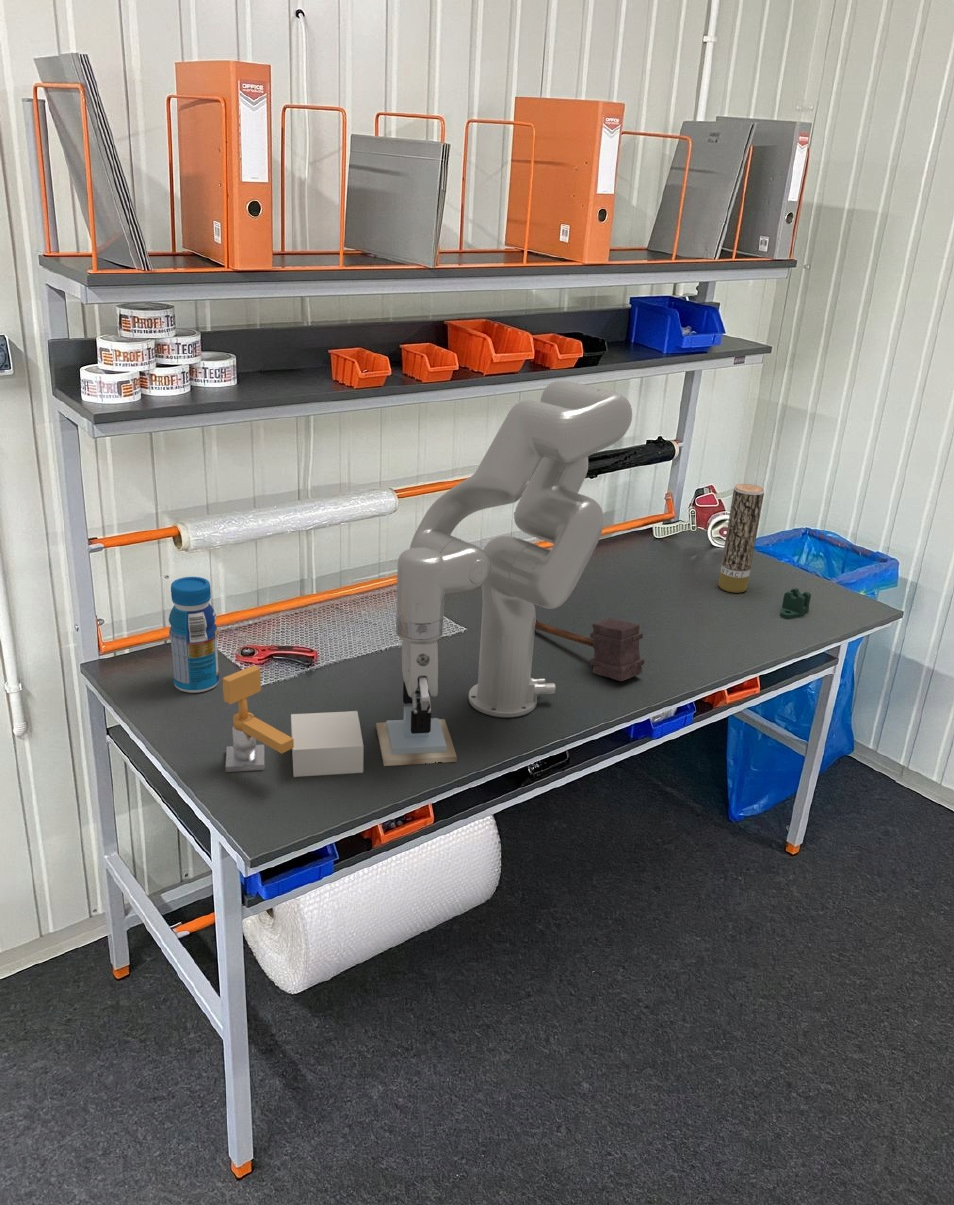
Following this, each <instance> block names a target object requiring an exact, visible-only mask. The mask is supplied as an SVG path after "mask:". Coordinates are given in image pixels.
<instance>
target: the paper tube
mask: <svg viewBox="0 0 954 1205" xmlns="http://www.w3.org/2000/svg"><path fill="white" fill-rule="evenodd" d="M764 496H765V489H764V488H763V487H762V486H759V485H757V484H756V485H755V484H751V483H738V484H735V485H734V487H733V492H732V498H731V506H730V510H729V515H728V516H729V517H728V523H727V529H726V535H725V541H724V548H723V552H722V559H721V565H720V572H719V576H718V577H719V579H718V588H720V589H721V590H723V591H725V592H728V593H732V594H733V593H734V594H740V593H743V592H745V591H746V590H747V589H748V585H749V579H750V574H751V569H752V563H753V557H754V551H755V547H756V540H757V535H758V529H759V525H760V518H761V513H762V509H763V508H762V507H763V502H764Z"/></svg>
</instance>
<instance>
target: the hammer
mask: <svg viewBox="0 0 954 1205" xmlns="http://www.w3.org/2000/svg"><path fill="white" fill-rule="evenodd" d="M640 628H641V626H640V624H638V623H633V622H629V621H624V620H619V619H615V618H606V619H603V620H601V621H599V622H594V623H592V629H593V632H590V633H589V636H590V637H587V636H583V635H580V634H577V633H573V632H570V631H567V630H564V629H560V628H558V627H554V626H551V625H549V624H546V623H543V622H540V621H538V620H537V619H536V622H535V630H538V631H541V632H542V631H543V632H545V633H547V634H550V635H553V636H556V637H559V638H563V639H566V640H569V641H571V642H572V641H573V642H575V643H579V644H582V645H586V646H588V647H592V648H593V650H594V652H593V654H594V657H593V658H590V659H589V664H590V666H593V668H592V673H593V674H594V673H595V674H594V675H598V676H602V677H604V678H605V677H606V678H610V679H613V680H616V681H618V682H619V681H620V682H624V681H625V680H628V679H631V678H633V677H636V676H639V675H641V674H642V673H643V667H642V666H643V665H645V659H644V658H641V654H640V640H642V639H643V638H644V637H643V635H644V633H642V632H640Z"/></svg>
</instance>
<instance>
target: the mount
mask: <svg viewBox="0 0 954 1205" xmlns="http://www.w3.org/2000/svg"><path fill="white" fill-rule="evenodd" d="M811 598H812V594H811V593H810V592H809V591H804V592H803V593H801V592H800V589H799V588H797V587H793V588H792V589H790V591H789V590H788V591H787V592H785V593H784V595H783V600H782V605H781V609H780V613H779V617H780V618H781V619H783V620H784V619H785V620H793V619H798V618H801V617H803V616H804V615H806V614H807V613H808V612H809V609H810V602H811Z"/></svg>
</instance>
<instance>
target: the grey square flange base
mask: <svg viewBox="0 0 954 1205" xmlns="http://www.w3.org/2000/svg"><path fill="white" fill-rule="evenodd" d="M231 727H232V729H231V730H232V746H226V750H225V751H226V754H225V773H233V772H235V773H237V772H251V771H252V772H254V771H264V770H265V744H257V739H255V738H254V737H252V736H250V735H249V734H247V733H245V732H243V731H239V730H236V729H235V728H234V724H232V726H231Z"/></svg>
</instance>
